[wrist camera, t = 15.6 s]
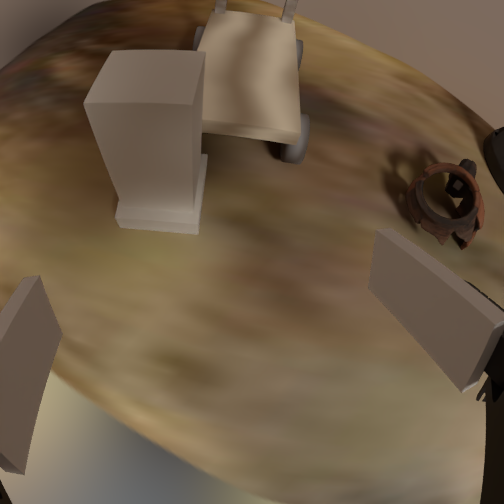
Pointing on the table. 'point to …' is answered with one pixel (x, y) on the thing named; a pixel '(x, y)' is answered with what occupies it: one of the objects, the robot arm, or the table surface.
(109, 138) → the grey pillar on base
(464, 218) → the broken clay pot
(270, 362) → the table surface
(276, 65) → the trolley
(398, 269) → the robot arm
